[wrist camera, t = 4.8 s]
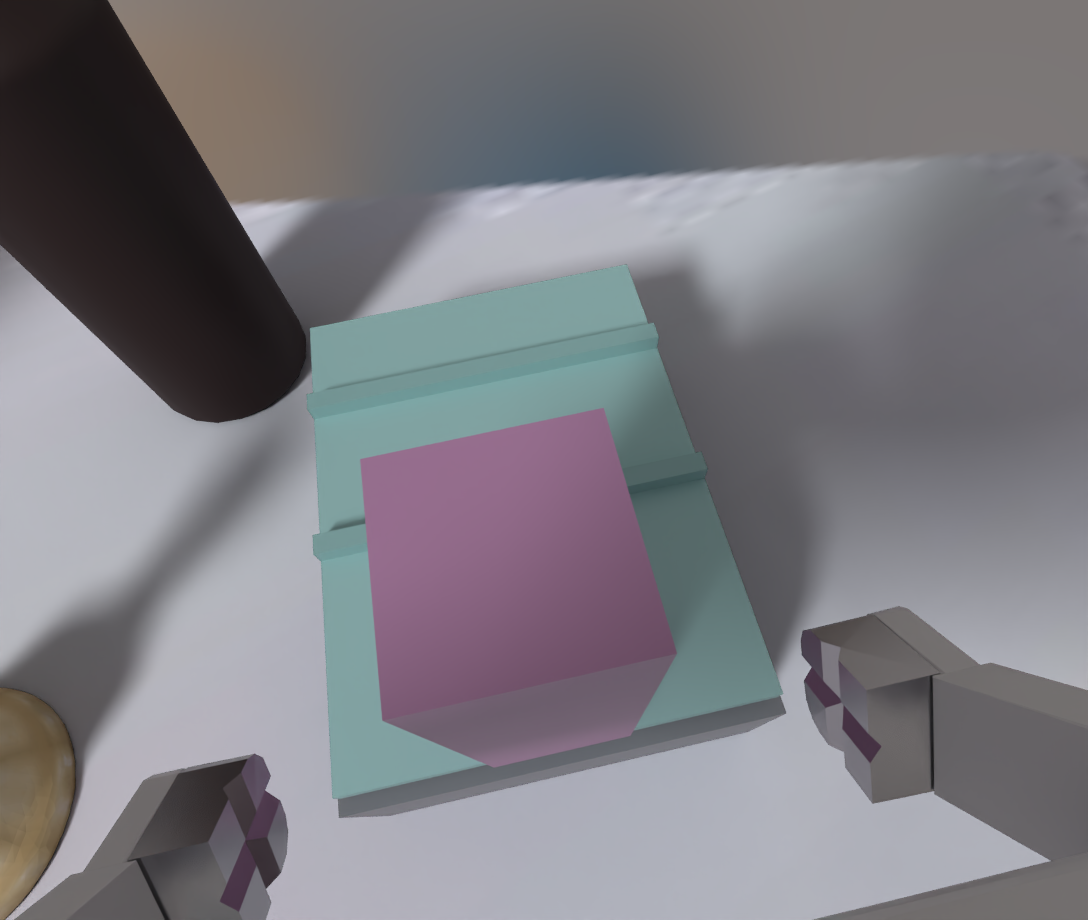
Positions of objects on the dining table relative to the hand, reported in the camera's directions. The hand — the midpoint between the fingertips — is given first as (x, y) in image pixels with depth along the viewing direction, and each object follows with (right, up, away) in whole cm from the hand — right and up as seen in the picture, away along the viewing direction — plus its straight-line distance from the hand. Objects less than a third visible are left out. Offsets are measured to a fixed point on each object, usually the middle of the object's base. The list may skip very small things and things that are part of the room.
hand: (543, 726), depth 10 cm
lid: (-1, +3, +11) cm, 11 cm away
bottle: (-14, +8, +21) cm, 26 cm away
